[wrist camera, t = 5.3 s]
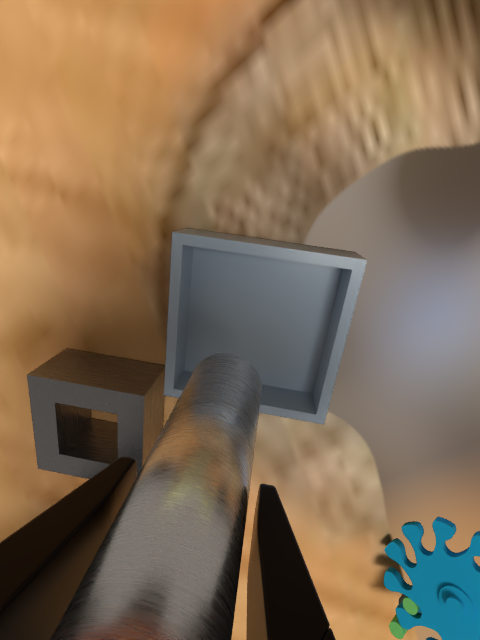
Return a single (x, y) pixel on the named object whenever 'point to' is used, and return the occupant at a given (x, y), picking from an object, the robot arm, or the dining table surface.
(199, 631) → the pin
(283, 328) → the tray
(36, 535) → the robot arm
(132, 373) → the hitch block
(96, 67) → the dining table surface
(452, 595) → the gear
